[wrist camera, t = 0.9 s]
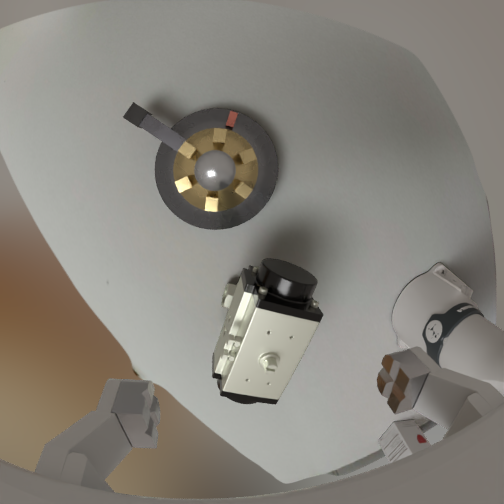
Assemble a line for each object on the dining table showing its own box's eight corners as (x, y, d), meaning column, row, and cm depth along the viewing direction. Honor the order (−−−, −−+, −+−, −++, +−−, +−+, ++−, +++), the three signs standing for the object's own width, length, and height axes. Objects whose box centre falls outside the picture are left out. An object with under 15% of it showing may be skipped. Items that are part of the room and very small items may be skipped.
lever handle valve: (270, 161, 36) (277, 161, 32) (224, 222, 38) (224, 229, 34) (157, 82, 32) (149, 73, 28) (112, 144, 33) (100, 143, 29)
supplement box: (414, 418, 64) (437, 453, 50) (398, 438, 66) (418, 472, 52) (393, 421, 62) (416, 459, 48) (376, 441, 64) (395, 478, 50)
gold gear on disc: (288, 131, 39) (307, 124, 30) (254, 237, 43) (263, 259, 34) (178, 100, 36) (166, 83, 27) (147, 208, 40) (127, 222, 31)
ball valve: (241, 233, 42) (255, 282, 26) (295, 249, 44) (338, 304, 27) (207, 334, 47) (204, 415, 30) (255, 346, 49) (272, 424, 32)
